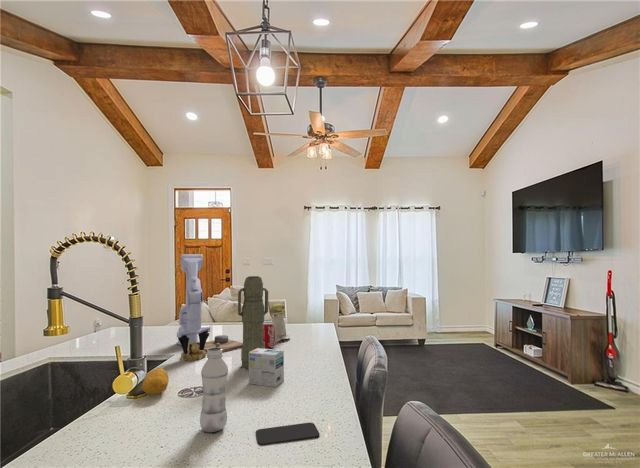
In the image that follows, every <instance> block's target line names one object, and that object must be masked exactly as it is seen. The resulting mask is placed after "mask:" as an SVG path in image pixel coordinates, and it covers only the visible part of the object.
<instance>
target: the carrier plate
mask: <svg viewBox="0 0 640 468" xmlns="http://www.w3.org/2000/svg"><path fill="white" fill-rule="evenodd" d="M242 346H243V342H242V341H236V340H234V339H229V335H226V334H223V335H222V334H220V335H216V336H214V340H209V341H206V343H205V346H204V350H205V352H206V353H207V350H208V349H210V348H222V354H223V353H225V352H229V351H235V350H239V349H242ZM234 349H235V350H234ZM199 350H200V348H199Z"/></svg>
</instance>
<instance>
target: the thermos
mask: <svg viewBox="0 0 640 468" xmlns="http://www.w3.org/2000/svg"><path fill="white" fill-rule="evenodd" d="M242 292H243V304H242ZM263 297H264V299H263ZM268 312H269V290H268V289H267V288H266V287H264V282H263V279H262V277H260V276H259V275H256V276H255V275H252V276H251V275H250V276H247V277H245V279H244V283H243V287H242V288H240V289H239V290H238V292H237V314H238V315H237V316H241V322H242V343H243V346H242V348H240V351H241V353H240V361H241V368H242V369H244V370H245V369H246V370H249V352H250V351H253V350H255V349H257V348H261V349H264V347H263V322H265V316H266V314H268Z"/></svg>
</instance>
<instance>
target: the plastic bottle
mask: <svg viewBox="0 0 640 468" xmlns="http://www.w3.org/2000/svg"><path fill="white" fill-rule="evenodd" d="M223 355H224V354H223V353H222V348H210V349H208V350H207V352H206V358H207V360H206V361H205V363H204V364H203V366H202V368H201V372H200V373H201V383H202V384H201V385H202V406H201V412H200V417H199V424H200V428H201V430H202V431H203V432H206V433H215V432H218V431H221V430H223V429H224V428H225V426H226V425H227V421H228V412H227V408H226V407H227V406H226V386H227V379H228V373H229V367H228V364H226V362H225V361H224V359H223V357H224V356H223Z"/></svg>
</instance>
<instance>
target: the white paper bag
mask: <svg viewBox="0 0 640 468" xmlns="http://www.w3.org/2000/svg"><path fill="white" fill-rule="evenodd" d="M268 310H269V314H270V315H271V316H273V318H272V320H271V322H273V323H274V326H275V344H276V343H278V342H280V341H281V340H285V339H287V340H289V339H291V336H290V335H288V334H287V329H286V323H285V319H284V316H285V315H286V313H285V304H284V303H281V302H278V303H273V305H272V306H271V308H269V307H268Z"/></svg>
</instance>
